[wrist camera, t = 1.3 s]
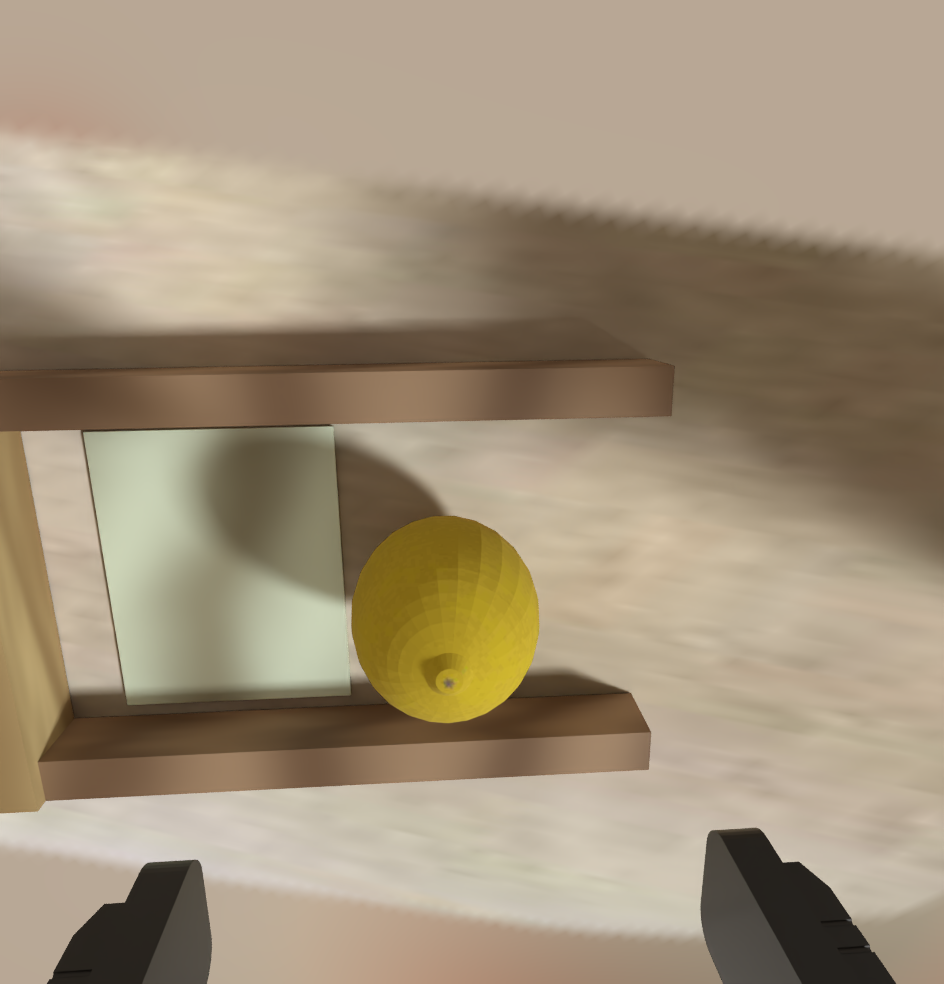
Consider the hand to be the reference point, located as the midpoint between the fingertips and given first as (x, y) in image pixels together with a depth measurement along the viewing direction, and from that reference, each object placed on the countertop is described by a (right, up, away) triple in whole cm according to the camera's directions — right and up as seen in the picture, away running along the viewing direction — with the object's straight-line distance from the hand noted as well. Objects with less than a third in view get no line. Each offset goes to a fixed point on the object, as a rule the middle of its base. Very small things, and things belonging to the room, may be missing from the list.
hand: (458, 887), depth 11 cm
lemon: (-1, +4, +14) cm, 14 cm away
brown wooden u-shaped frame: (-5, +4, +13) cm, 15 cm away
